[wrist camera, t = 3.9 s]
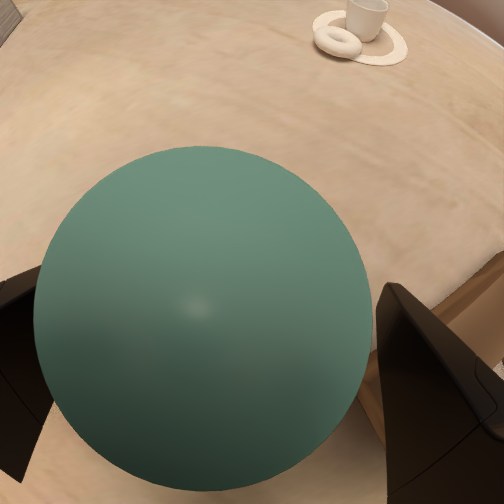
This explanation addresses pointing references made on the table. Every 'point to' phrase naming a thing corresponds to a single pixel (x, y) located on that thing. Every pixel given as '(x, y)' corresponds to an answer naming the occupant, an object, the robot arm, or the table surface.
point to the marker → (203, 318)
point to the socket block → (455, 331)
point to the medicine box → (8, 18)
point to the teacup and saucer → (358, 32)
